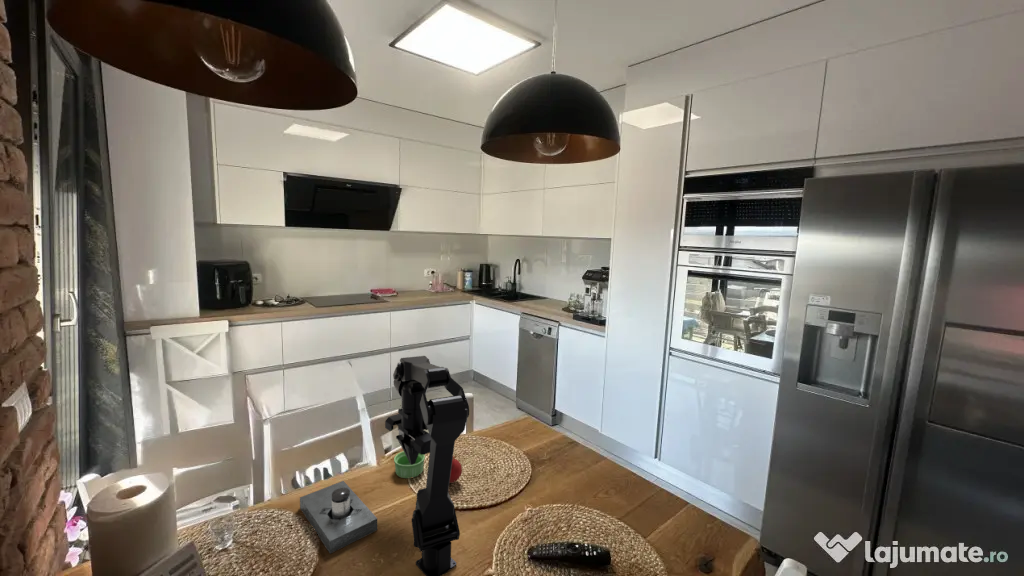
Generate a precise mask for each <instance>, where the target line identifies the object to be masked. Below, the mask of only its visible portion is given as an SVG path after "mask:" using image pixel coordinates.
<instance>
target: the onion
mask: <svg viewBox="0 0 1024 576" xmlns="http://www.w3.org/2000/svg"><path fill="white" fill-rule="evenodd" d="M462 466H463V465H462V464H461V462H460V461H459V460H458V459H457V458H455V456H454V455H453V460H452V467H451V475H450V483H449V484H453V483H456V482H457V481H458V480H459V479H460V478H461V476H462V473H463V467H462Z"/></svg>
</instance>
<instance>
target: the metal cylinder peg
mask: <svg viewBox="0 0 1024 576" xmlns="http://www.w3.org/2000/svg"><path fill="white" fill-rule="evenodd" d="M348 516H350V490H349V489H348V488H339V489H336V490H335V491H333V492H332V519H334V520H341V519H343V518H346V517H348Z"/></svg>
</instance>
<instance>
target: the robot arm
mask: <svg viewBox="0 0 1024 576" xmlns="http://www.w3.org/2000/svg"><path fill="white" fill-rule="evenodd" d="M392 376H393V387H394V388H395V390H396V391H397V393H398V394H399V397H401V408H397V409H398V410H397V412H398V414H394V415H391V416H387V418H386V419H385V421H384V423H385V424H384V425H385V429H386V430H387V431H389V432H392V431H393V430H394V426H397V431H398V435H396V436H395V439H396V440H397V441H398V443H399V446H400V447H401V448H402V452H403V451H404V453H405V455H406V457H407V459H408V461H409V463H410V464H411V465H412V464H415V462H416V460H417V457H418V454H419V453H420V454H421V455H425V456H426V454H429V455H428V456H429V457H428V466H427V475H426V483H425V484H426V485H425V487H424V488H421V489H418V490H417V492H416V501H415V509H414V510H413V512H412V515H411V516H412V518H411V527H412V533H413V547H414V548H417V549H418V550H419V552H420V553H421V557H420V558H418V559H416V560H415V566H416V567H417V568H418V569H419V570H420V571H421V572H422V573H423V574H424V576H443V575H445V574H446V573H448V572H450V571H451V570H452V569H454V568H456V567H457V562H456V560H454V559H453V558H452V542H453V541H458V540H459V539H460V535H461V533H460V528H459V523H458V522H459V521H458V517H457V512H456V508H455V507H456V506H455V505H454V502H453V500H452V498H451V496H450V493H449V490H450V484H451V483H450V475H451V467H452V460H453V456H454V451H455V444H456V441H457V439H458V438H459V437H460V436H461V435H462V434H463V433H464V431H465V429H466V425H467V422H468V419H469V416H470V405H469V403H468V399H467V396H466V393H465V392H464V391H465V390H464V387H462V385H460V384H459V383H458V382H457V381H456V380H455V379H454V378H452V377H451V373H450V371H449V369H448V367H444V366H439V365H435V364H432V363H431V361H430V359H429V358H428V357H427V356H426V355H417V356H410V357H409V356H407V357H401V358H400V359H399V362H397V364H396V367H395V369H394V371H393V375H392ZM438 387H439V388H440V387H444V389H445V390H446V391H448V392H449V394H451V395H450V396H445V397H443V396H442V397H438V398H431V399H429V400H428V399H427V394H428V390H429V389H432V388H438ZM427 430H428V431H427Z"/></svg>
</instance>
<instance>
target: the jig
mask: <svg viewBox="0 0 1024 576" xmlns="http://www.w3.org/2000/svg"><path fill="white" fill-rule="evenodd" d="M339 488H348V489H349V490H350V516H348V517H346V518H343V519H341V520H334V519H332V492H333V491H335V490H336V489H339ZM299 509H300V511H301V512H302V514H303V515H304V517H305V518H306V520H307V521H308V523H309V522H310V523H309V524H310V526H311V525H312V526H313V527H312V526H311V527H312V529H313V528H314V529H315V530H314V529H313V530H314V532H315V531H316V532H317V533H316V532H315V533H316V535H317V534H318V535H317V537H318V538H319V540H320V542H321V543H322V544H323V546H324V547H325V548H326V550H327V551H328V553H329V555H330V554H332V553H335V552H336V551H338V550H341V549H342V548H344V547H346V546H349V545H350V544H353V543H354V542H357V541H358V540H361V539H362V538H364V537H367V536H369V535H370V534H373V533H375V532H377V531H378V517H377V516H376V515H375V514H374V512H373V511H371V509H370V508H369V507H368V506H367V505H366V504H365V503H364V502H363V500H362V499H361V498H360V497H359V496H358V495H357V494H356V493H355V492H354V490H353V489H352V488H351V487H350V486H349V485H348V483H346V482H345V480H342V481H339V482H337V483H334V484H331V485H328V486H326V487H324V488H320V489H318V490H316V491H314V492H311V493H308V494H306V495H305V494H304V495H303V496H299Z"/></svg>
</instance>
